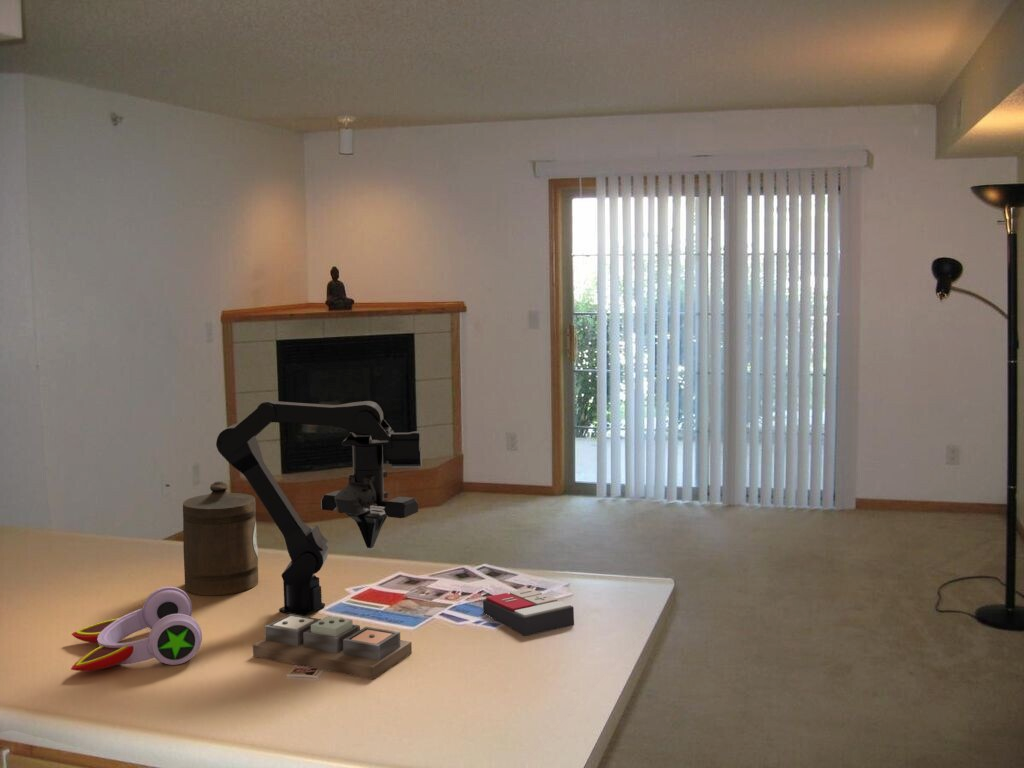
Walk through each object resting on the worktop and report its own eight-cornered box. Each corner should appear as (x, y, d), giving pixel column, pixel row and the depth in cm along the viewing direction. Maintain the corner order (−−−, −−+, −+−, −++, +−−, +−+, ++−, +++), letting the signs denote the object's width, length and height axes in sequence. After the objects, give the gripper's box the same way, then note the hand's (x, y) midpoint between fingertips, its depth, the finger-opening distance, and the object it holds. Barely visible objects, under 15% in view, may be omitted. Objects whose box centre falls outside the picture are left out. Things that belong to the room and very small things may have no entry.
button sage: (311, 636, 168) (310, 623, 168) (328, 626, 172) (328, 614, 172) (335, 640, 166) (335, 628, 166) (352, 631, 170) (352, 618, 170)
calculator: (530, 585, 196) (574, 602, 183) (531, 607, 196) (575, 625, 183) (481, 595, 190) (523, 613, 177) (482, 617, 190) (524, 637, 177)
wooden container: (273, 581, 211) (269, 479, 209) (218, 600, 199) (214, 492, 196) (225, 570, 219) (221, 472, 217) (169, 589, 206) (164, 484, 204)
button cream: (273, 636, 171) (272, 623, 171) (291, 626, 176) (290, 614, 176) (296, 640, 169) (296, 627, 169) (314, 630, 174) (314, 618, 174)
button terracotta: (351, 651, 165) (350, 638, 164) (367, 640, 169) (367, 628, 169) (376, 655, 163) (376, 642, 162) (392, 645, 167) (392, 632, 167)
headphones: (205, 617, 167) (74, 620, 158) (200, 674, 167) (70, 680, 159) (192, 584, 185) (74, 585, 176) (188, 636, 185) (70, 639, 177)
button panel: (253, 656, 169) (252, 630, 169) (296, 633, 180) (295, 609, 180) (373, 679, 159) (372, 652, 159) (411, 653, 170) (411, 627, 169)
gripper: (302, 471, 187) (305, 553, 189) (387, 479, 179) (389, 564, 181) (336, 461, 197) (339, 538, 199) (418, 468, 189) (420, 548, 191)
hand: (370, 547), depth 192 cm, fingers closed
